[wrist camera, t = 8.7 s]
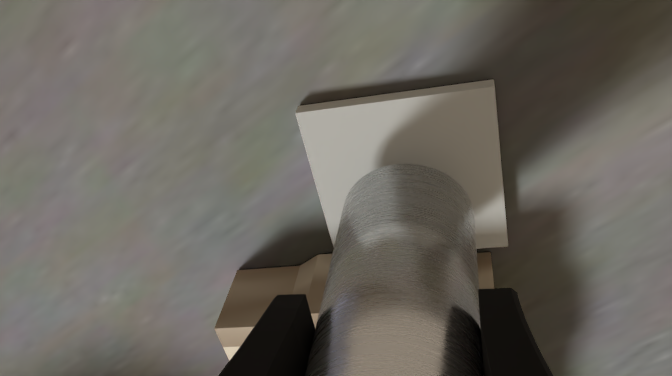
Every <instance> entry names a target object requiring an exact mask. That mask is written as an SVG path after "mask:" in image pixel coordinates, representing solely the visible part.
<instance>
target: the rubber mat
mask: <svg viewBox="0 0 672 376" xmlns="http://www.w3.org/2000/svg"><path fill="white" fill-rule="evenodd" d="M295 114H296V118H297V121H298V125H299V128H300V132H301V135H302V139H303V142H304V146H305V149H306V153H307V156H308V160H309V163H310V167H311V170H312V174H313V177H314V181H315V184H316V188H317V191H318V195H319V198H320V202H321V205H322V209H323V212H324V216H325V219H326V223H327V226H328V230H329V233H330V237H331V240H332V244H333V247H334V245H335V241H336V236H337V232H338V228H339V223H340V219H341V214H342V210H343V206H344V202H345V199H346V196H347V194H348V193H349V191H350V189H351V188H352V187H353V185H354V184H355V183H356V182H357V181H358V180H359V179H361V178H362V177H363V176H365V175H366V174H368V173H370V172H371V171H373V170H376V169H378V168H381V167H384V166H388V165H394V164H418V165H424V166H428V167H431V168H434V169H436V170H439V171H441V172H443V173H445V174H446V175H448V176H450V177H451V178H452V179H454V180H455V181H456V182H457V183H458V184H459V185H460V186H461V187H462V188H463V189H464V190H465V192H466V193H467V195H468V196H469V198H470V200H471V203H472V206H473V210H474V217H475V232H476V248H477V249H481V248H495V247H508V237H507V225H506V213H505V201H504V190H503V178H502V166H501V154H500V143H499V131H498V119H497V107H496V95H495V85H494V79H492V80H485V81H477V82H470V83H463V84H455V85H448V86H441V87H433V88H426V89H419V90H411V91H404V92H397V93H389V94H382V95H375V96H367V97H360V98H353V99H345V100H338V101H331V102H323V103H316V104H309V105H301V106H298V108H297V110H296V113H295Z"/></svg>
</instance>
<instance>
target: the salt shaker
mask: <svg viewBox="0 0 672 376" xmlns="http://www.w3.org/2000/svg"><path fill="white" fill-rule="evenodd" d="M478 289H479V278H478V263H477V248H476V232H475V217H474V210H473V206H472V203H471V200H470V198H469V196H468V195H467V193H466V192H465V190H464V189H463V188H462V187H461V186H460V185H459V184H458V183H457V182H456V181H455V180H454V179H452V178H451V177H450V176H448V175H446V174H445V173H443V172H441V171H439V170H436V169H434V168H431V167H428V166H424V165H418V164H394V165H388V166H384V167H381V168H378V169H376V170H373V171H371V172H370V173H368V174H366V175H365V176H363V177H362V178H361V179H359V180H358V181H357V182H356V183H355V184H354V185H353V187H352V188H351V189H350V191H349V193H348V194H347V196H346V199H345V202H344V206H343V210H342V214H341V219H340V223H339V228H338V232H337V236H336V241H335V245H334V249H333V254H332V258H331V263H330V267H329V271H328V276H327V280H326V285H325V289H324V293H323V298H322V302H321V307H320V311H319V315H318V320H317V324H316V329H315V333H314V337H313V342H312V346H311V351H310V355H309V359H308V364H307V368H306V372H305V376H484V371H483V357H482V342H481V327H480V312H479V296H478Z"/></svg>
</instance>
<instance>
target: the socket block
mask: <svg viewBox="0 0 672 376" xmlns="http://www.w3.org/2000/svg"><path fill="white" fill-rule="evenodd" d="M332 254H333V253H332ZM332 254H319V255H317V256H315V257H313V258H312V259H310V260H309V261H307V262H305V263H304V264H302V265H300V266H290V267H276V268H262V269H248V270H237V273H236V275H235V278H234V280H233V283H232V285H231V288H230V290H229V293H228V296H227V298H226V301H225V303H224V306H223V308H222V311H221V313H220V316H219V318H218V321H217V323H216V326H215V331H216V333H217V335H218V337H219V339H220V342H221V344H222V346H223V348H224V350H225V352H226V355H227V357H228V359H229V361H230V360H231V358H232V357H233V356H234V354H235V353H236V352H237V350H238V349H239V347H240V346H241V345H242V343H243V342H244V340H245V339H246V338H247V336H248V335H249V333H250V332H251V331H252V329H253V328H254V326H255V325H256V323H257V322H258V321H259V319H260V318H261V316H262V315H263V313H264V312H265V310H266V309H267V307H268V306H269V305H270V303H271V302H272V300H273V299H274V298H275V297H276V296H277V295H288V294H306V298H307V301H308V305H309V308H310V312H311V316H312V319H313V323H314V326H315V329H316V324H317V320H318V315H319V311H320V307H321V302H322V298H323V293H324V289H325V285H326V280H327V276H328V271H329V267H330V263H331V258H332ZM477 263H478V278H479V289H495V288H494V279H493V269H492V260H491V252H483V253H477Z"/></svg>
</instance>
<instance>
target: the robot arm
mask: <svg viewBox="0 0 672 376" xmlns="http://www.w3.org/2000/svg"><path fill="white" fill-rule="evenodd" d="M478 296H479V312H480V327H481V342H482V357H483V371H484V376H553V375H552V373H551V371H550V369H549V367H548V366H547V364H546V362H545V360H544V358H543V356H542V354H541V352H540V350H539V348H538V346H537V344H536V342H535V340H534V338H533V335H532V333H531V331H530V329H529V327H528V324H527V322H526V319H525V317H524V314H523V311H522V309H521V306H520V303H519V299H518V295H517V292H515V291H514V290H513V289H511V288H499V289H478ZM314 333H315V326H314V323H313V319H312V316H311V312H310V308H309V305H308V301H307V298H306V294H288V295H277V296H276V297H275V298H274V299H273V300H272V302H271V303H270V305H269V306H268V307H267V309H266V310H265V312H264V313H263V315H262V316H261V318H260V319H259V321H258V322H257V323H256V325H255V326H254V328H253V329H252V331H251V332H250V333H249V335H248V336H247V338H246V339H245V340H244V342H243V343H242V345H241V346H240V347H239V349H238V350H237V352H236V353H235V354H234V356H233V357H232V358H231V360H230V361H229V362H228V364H227V365H226V366H225V368H224V369H223V370H222V372H221V373H220V374H219V376H305V372H306V368H307V364H308V359H309V355H310V351H311V346H312V342H313V337H314Z"/></svg>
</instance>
